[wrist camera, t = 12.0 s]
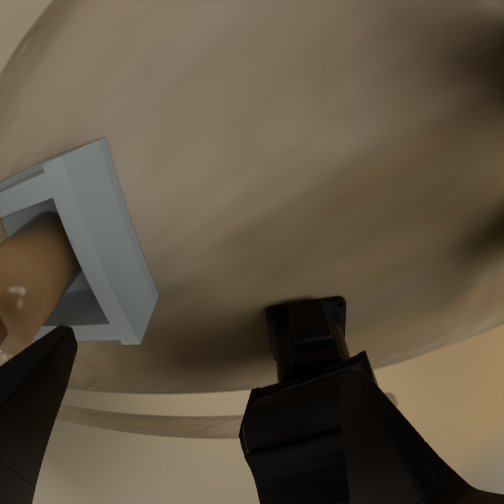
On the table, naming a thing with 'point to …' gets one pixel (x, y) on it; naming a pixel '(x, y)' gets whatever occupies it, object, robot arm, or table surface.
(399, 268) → the table surface
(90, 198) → the u rest
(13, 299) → the amber bottle
